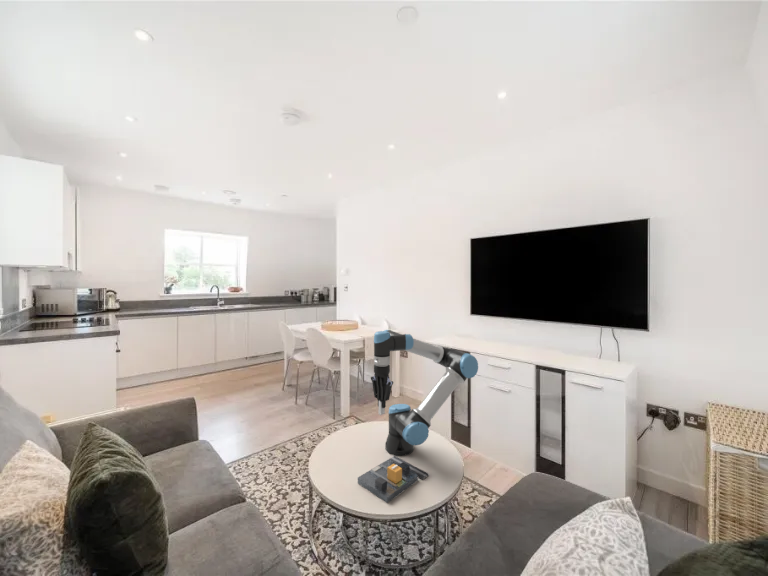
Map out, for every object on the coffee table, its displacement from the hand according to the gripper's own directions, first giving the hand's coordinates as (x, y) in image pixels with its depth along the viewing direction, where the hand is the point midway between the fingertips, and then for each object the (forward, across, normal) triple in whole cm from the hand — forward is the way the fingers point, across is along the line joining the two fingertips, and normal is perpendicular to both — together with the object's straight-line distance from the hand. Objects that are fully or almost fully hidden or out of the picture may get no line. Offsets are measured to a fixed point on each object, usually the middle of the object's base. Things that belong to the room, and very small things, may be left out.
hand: (381, 413), depth 151 cm
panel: (+26, +9, -5) cm, 28 cm away
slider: (+23, +13, -5) cm, 27 cm away
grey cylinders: (+26, +9, +9) cm, 29 cm away
